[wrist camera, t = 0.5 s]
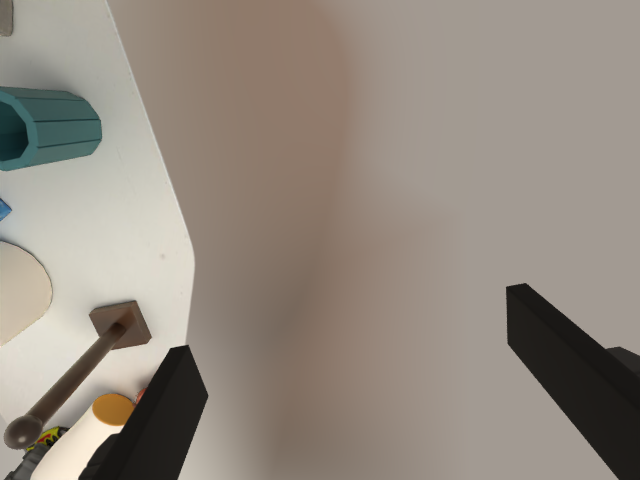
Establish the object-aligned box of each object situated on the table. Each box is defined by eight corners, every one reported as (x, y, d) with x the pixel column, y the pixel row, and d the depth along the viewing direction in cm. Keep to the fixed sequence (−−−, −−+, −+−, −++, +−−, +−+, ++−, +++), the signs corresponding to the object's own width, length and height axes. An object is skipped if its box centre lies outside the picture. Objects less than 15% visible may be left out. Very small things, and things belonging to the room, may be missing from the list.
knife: (44, 481, 60) (14, 468, 59) (46, 478, 60) (16, 466, 59) (74, 432, 56) (43, 418, 55) (76, 430, 57) (45, 416, 56)
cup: (161, 402, 57) (120, 467, 59) (99, 372, 56) (59, 440, 57) (133, 451, 47) (85, 529, 48) (56, 416, 45) (9, 498, 47)
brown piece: (94, 308, 49) (-38, 425, 31) (136, 300, 49) (27, 414, 30) (112, 344, 51) (-3, 474, 33) (151, 337, 51) (58, 464, 32)
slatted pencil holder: (26, 100, 40) (-63, 97, 31) (87, 86, 40) (15, 78, 30) (54, 162, 42) (-21, 177, 33) (112, 149, 42) (52, 161, 33)
